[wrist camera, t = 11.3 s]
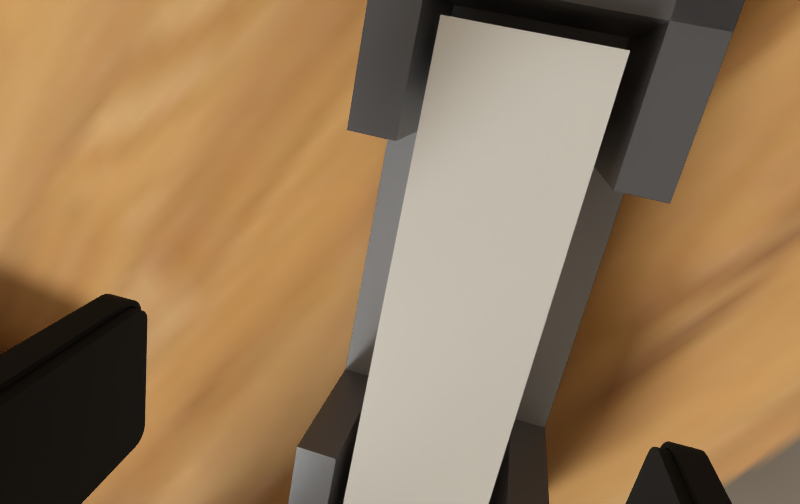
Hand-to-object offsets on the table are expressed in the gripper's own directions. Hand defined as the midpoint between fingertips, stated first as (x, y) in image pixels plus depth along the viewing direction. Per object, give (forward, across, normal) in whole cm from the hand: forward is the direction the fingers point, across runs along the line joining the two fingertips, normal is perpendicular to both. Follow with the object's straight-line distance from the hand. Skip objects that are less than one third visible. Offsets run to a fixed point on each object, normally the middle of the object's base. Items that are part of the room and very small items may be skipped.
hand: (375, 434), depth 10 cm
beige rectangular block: (+10, -1, +1) cm, 11 cm away
